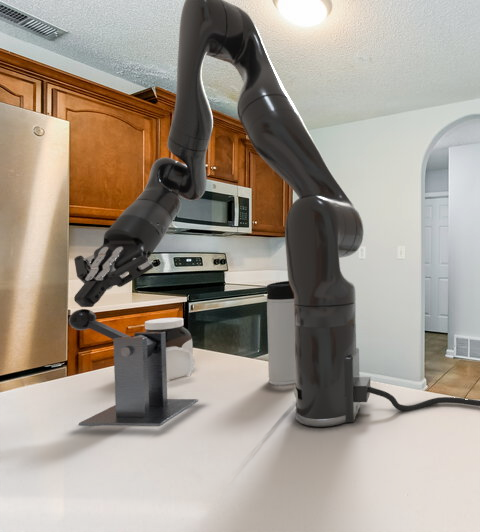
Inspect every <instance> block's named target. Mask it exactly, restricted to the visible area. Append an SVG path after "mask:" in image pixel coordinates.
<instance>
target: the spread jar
mask: <svg viewBox="0 0 480 532" xmlns="http://www.w3.org/2000/svg"><path fill="white" fill-rule="evenodd" d="M184 323H185V322H184V318H183V317H162V318H155V319H154V318H153V319H149V320H146V321H144V330H145V331H144V332H165V337H166V369H167V383H171V382H170V380H173V379H177V378H181V377H184V376H186V377H190V376H192V374H193V372H194V370H195V363H196V362H195V358H194V351H193V350H194V349H193V347H194V346H193V345H194V344H193V337H192V334H191V332H190V331H189V330H188V329H187V328H185V327H184Z"/></svg>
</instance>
